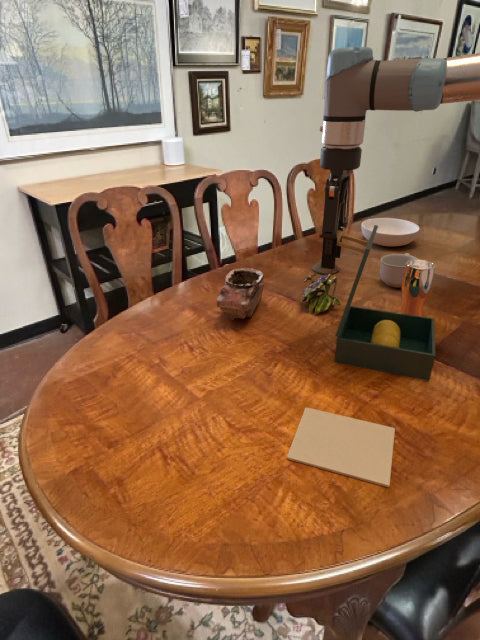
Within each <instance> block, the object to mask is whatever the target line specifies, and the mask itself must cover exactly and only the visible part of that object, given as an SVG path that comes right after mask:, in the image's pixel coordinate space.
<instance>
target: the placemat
mask: <svg viewBox="0 0 480 640" xmlns="http://www.w3.org/2000/svg"><path fill="white" fill-rule="evenodd" d="M395 432H396V427H392V426H388V425H384V424H380V423H375V422H371V421H366V420H362V419H358V418H354V417H350V416H345V415H342V414H337V413H332V412H329V411H324V410H320V409H315V408H311V407H307V406H305V408H304V409H303V413H302V416H301V419H300V421H299V424H298V426H297V429H296V432H295V435H294V437H293V440H292V442H291V445H290V448H289V450H288V452H287V455H286V460H288V461H292V462H296V463H300V464H303V465H306V466H309V467H310V466H311V467H314V468H317V469H320V470H324V471H327V472H332V473H335V474H339V475H342V476H346V477H348V478H349V477H350V478H353V479H356V480H360V481H364V482H367V483H371V484H374V485H378V486H382V487H385V488H390V485H391V475H392V466H393V465H392V464H393V454H394V445H395V444H394V443H395V434H396V433H395Z"/></svg>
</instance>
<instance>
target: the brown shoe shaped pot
mask: <svg viewBox="0 0 480 640" xmlns="http://www.w3.org/2000/svg"><path fill="white" fill-rule="evenodd" d="M264 278H265V274H264V273H263V272H262V271H261V270H259V269H257V268H252V267H241V268H234V269H231V270H230V271H229V272H228V273H227V274H226V276H225V282H224V284H223V286H222V287H221V288H220V293H219V296H217V299H216V307H218V308H219V310H221V311H220V312H221V314H222V315H223V316H226V317H230V319H231V320H234V319H235V318H236V319H245V318H246V317H248V318H250V317H252V315H253V313H254V311H256V308H257V306H258V304H259V303H260V301H261V299H262V296H263V293H264V287H265V283H263V281H264Z"/></svg>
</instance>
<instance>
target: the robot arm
mask: <svg viewBox="0 0 480 640" xmlns="http://www.w3.org/2000/svg"><path fill="white" fill-rule="evenodd" d="M374 58H375V57H374V50H373V48H371V47H369V46H347V47H337V48H334V49H332V50H331V52H330V53H328V57H327V65H326V74H325V78H324V84H325V85H324V103H323V119H322V125H321V126H320V127H319V128H318V130H319V132H322V135H321V143H322V145H324V146H322V147H321V149H320V157H319V158H320V159H319V167H320V168H321V169H323V170H329V171H330V174H329V177H328V178H326V183H325V187H324V204H323V205H324V206H323V215H322V227H321V228H322V229H321V233H320V234H319V239H322V250H321V268H327V269H334V268H335V264H336V259H340V258H341V253H342V247H341V246H337V239H338V238H337V230H341V231H342V233H343V234H344V228H347V227H348V222H345V221H346V219H347V218H346V216H347V215H346V214H347V204H348V195H349V187H350V183H351V174H350V173H348V171H355V170H357V169H359V168H360V166H361V162H362V161H361V160H362V152H363V149H362V147H361V146H360V145H362V144H364V137H365V129H366V118H367V117H366V114H367V111H397V112H398V111H402V112H405V111H411V112H413V111H414V112H416V113H418V112H422V111H435V110H437V109H438V108H439V106H440V105H443V104H452V103H464V102H472V101H474V102H475V101H480V52H477V53H469V54H464V55H457V56H451V57H443V58H437V57H436V58H435V57H434V58H433V57H421V58H404V59H403V58H402V59H390V60H379V59H374ZM339 242H342V243H343V238H341V240H340V241H339Z"/></svg>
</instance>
